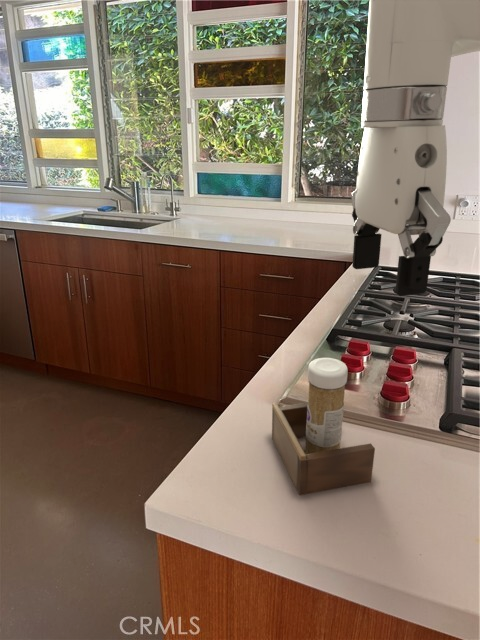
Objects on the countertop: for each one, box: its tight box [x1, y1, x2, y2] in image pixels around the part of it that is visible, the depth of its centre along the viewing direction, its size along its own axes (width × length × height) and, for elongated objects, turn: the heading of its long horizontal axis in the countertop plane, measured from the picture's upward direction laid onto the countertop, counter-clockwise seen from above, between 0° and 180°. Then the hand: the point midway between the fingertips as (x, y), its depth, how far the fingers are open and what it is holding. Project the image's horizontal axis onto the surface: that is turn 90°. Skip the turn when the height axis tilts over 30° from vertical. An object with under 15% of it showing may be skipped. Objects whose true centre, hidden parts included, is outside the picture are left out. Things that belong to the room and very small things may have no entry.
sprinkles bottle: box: [304, 357, 349, 454], centre depth 56 cm, size 5×5×13 cm
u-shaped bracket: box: [271, 401, 376, 496], centre depth 58 cm, size 9×11×6 cm
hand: (386, 279), depth 51 cm, fingers open, 9 cm apart
